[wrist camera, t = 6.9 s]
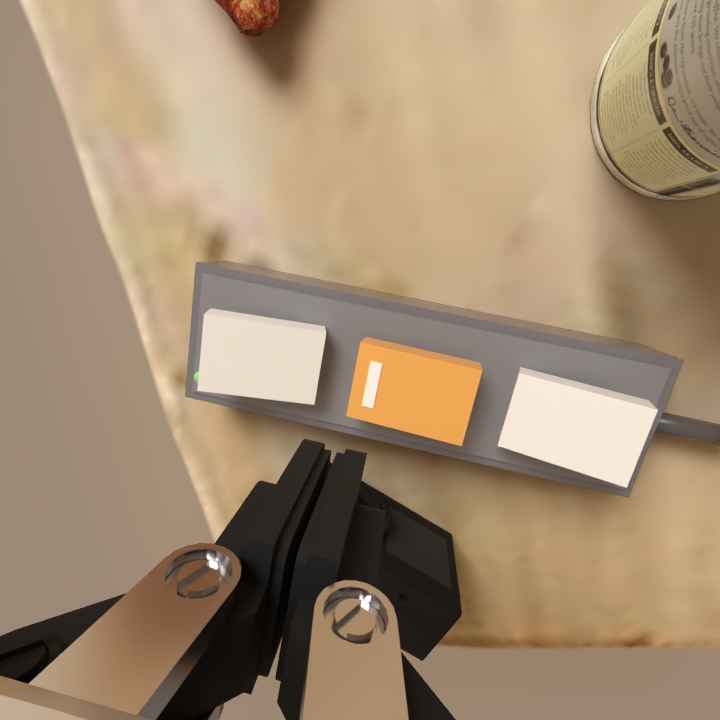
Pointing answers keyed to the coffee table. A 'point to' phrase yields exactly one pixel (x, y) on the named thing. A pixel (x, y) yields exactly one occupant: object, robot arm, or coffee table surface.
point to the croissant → (251, 14)
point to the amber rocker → (413, 390)
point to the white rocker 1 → (260, 357)
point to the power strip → (441, 335)
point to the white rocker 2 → (577, 425)
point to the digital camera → (415, 573)
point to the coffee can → (662, 101)
